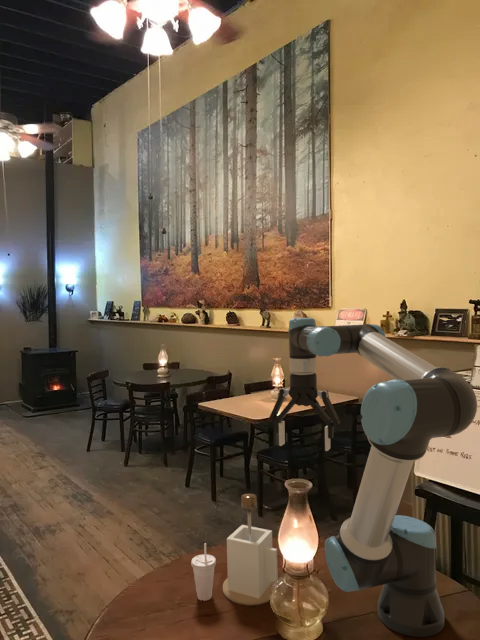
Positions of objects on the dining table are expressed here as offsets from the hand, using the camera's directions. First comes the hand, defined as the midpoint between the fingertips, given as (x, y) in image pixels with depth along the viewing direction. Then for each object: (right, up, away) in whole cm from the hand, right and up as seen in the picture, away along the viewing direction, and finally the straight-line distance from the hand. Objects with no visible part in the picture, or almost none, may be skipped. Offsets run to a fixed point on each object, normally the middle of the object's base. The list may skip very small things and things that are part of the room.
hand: (304, 447), depth 145 cm
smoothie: (-27, -36, -12) cm, 47 cm away
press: (-15, -35, -9) cm, 40 cm away
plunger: (-15, -32, -9) cm, 37 cm away
